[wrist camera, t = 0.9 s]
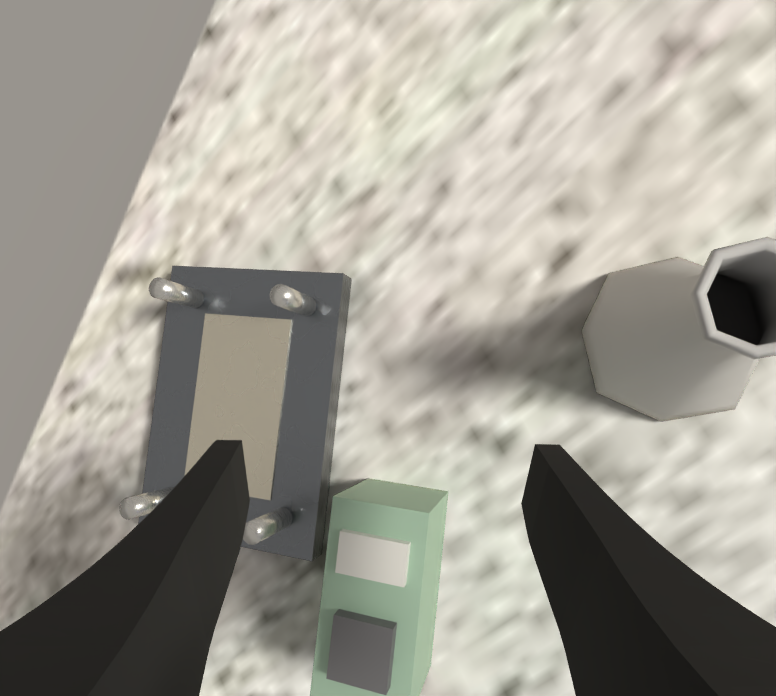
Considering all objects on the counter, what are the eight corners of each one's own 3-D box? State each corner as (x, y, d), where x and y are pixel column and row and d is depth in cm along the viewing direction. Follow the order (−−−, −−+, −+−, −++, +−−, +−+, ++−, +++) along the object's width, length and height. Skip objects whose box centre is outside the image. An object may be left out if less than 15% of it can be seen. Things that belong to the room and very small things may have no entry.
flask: (769, 263, 22) (946, 162, 13) (755, 433, 22) (927, 460, 12) (589, 254, 24) (625, 160, 15) (572, 410, 24) (599, 417, 14)
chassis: (321, 554, 26) (283, 582, 22) (154, 520, 29) (92, 539, 25) (351, 278, 27) (320, 258, 23) (186, 270, 30) (132, 251, 26)
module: (431, 663, 25) (403, 737, 19) (350, 643, 26) (303, 708, 20) (448, 491, 25) (426, 516, 20) (369, 478, 26) (327, 498, 21)
